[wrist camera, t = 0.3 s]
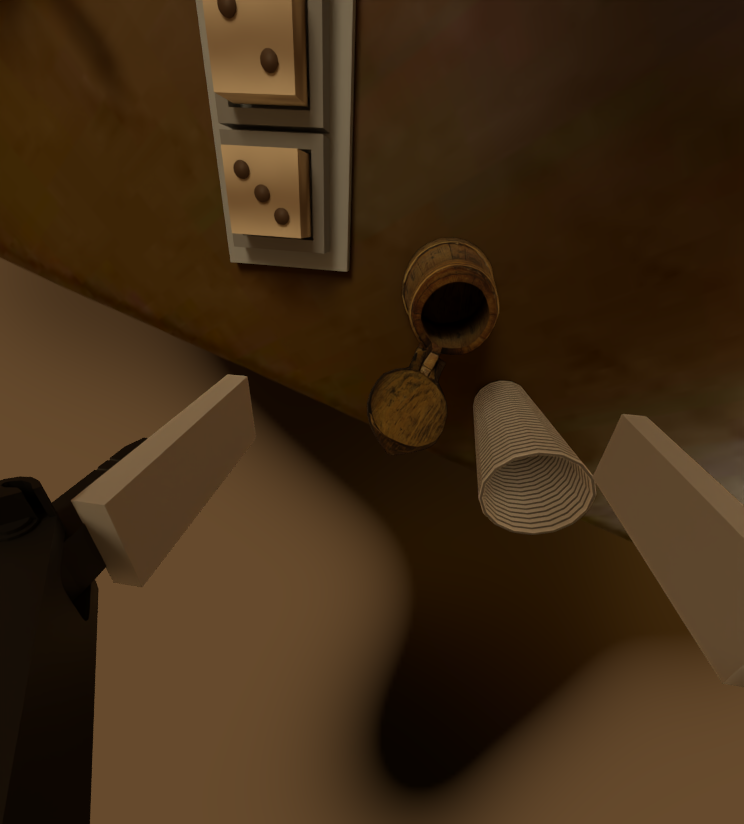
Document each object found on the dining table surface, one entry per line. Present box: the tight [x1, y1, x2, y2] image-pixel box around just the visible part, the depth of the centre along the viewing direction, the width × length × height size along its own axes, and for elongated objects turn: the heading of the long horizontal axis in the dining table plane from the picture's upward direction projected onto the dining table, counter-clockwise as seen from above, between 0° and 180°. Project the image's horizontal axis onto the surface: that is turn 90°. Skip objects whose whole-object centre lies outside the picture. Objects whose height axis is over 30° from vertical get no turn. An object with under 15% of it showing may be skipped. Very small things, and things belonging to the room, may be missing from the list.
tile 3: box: [221, 145, 311, 238], centre depth 29 cm, size 6×6×3 cm
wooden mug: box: [367, 237, 499, 455], centre depth 28 cm, size 9×14×18 cm, turn 153°
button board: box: [196, 0, 356, 272], centre depth 27 cm, size 30×12×3 cm, turn 177°
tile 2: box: [202, 0, 308, 107], centre depth 24 cm, size 6×6×3 cm
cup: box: [473, 380, 596, 535], centre depth 34 cm, size 8×8×16 cm
